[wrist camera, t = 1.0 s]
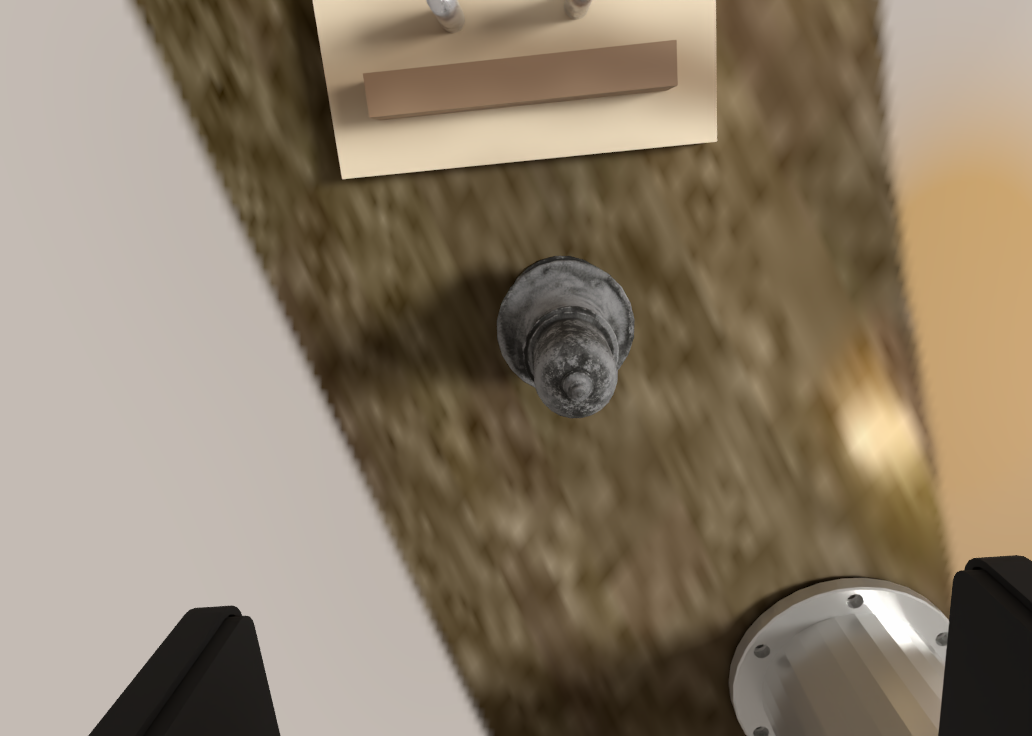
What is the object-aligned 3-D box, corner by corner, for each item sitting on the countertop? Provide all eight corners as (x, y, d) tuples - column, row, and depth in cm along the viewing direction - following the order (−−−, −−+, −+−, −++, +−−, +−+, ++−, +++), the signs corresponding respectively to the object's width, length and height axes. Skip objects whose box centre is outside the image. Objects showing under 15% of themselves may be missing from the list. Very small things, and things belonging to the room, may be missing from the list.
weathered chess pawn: (633, 257, 31) (693, 313, 20) (612, 376, 33) (657, 492, 22) (507, 241, 31) (495, 289, 20) (493, 362, 33) (474, 470, 22)
